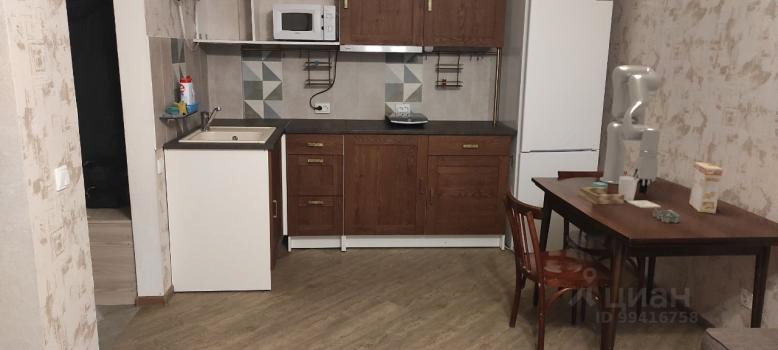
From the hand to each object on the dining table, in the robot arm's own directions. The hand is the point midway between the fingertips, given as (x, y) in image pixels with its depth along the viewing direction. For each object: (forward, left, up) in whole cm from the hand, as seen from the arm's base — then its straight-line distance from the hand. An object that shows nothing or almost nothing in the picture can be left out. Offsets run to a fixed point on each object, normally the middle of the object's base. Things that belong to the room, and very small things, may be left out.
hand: (642, 193), depth 277 cm
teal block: (+16, -11, -3) cm, 19 cm away
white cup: (+9, 0, -3) cm, 9 cm away
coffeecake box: (-17, +18, -3) cm, 25 cm away
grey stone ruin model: (+12, +31, -3) cm, 34 cm away
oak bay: (+22, 0, -3) cm, 22 cm away
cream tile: (+7, +10, -3) cm, 12 cm away
